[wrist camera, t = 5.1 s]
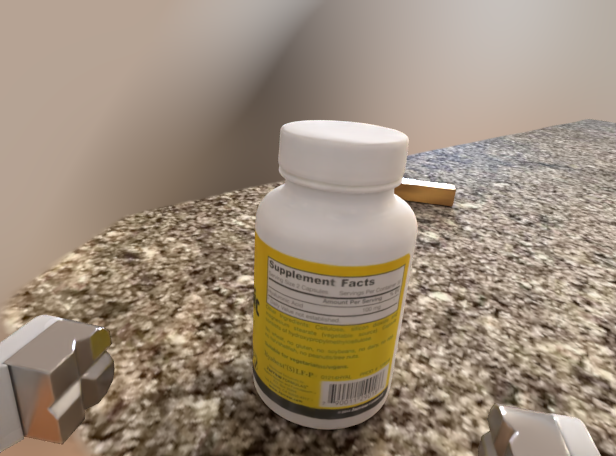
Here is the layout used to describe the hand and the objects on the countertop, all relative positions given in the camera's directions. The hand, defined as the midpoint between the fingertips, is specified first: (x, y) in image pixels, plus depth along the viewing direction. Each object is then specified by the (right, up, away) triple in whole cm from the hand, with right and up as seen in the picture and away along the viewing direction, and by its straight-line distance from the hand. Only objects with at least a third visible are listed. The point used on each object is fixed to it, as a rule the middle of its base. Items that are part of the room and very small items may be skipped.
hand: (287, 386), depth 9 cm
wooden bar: (+9, +6, +31) cm, 33 cm away
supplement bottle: (+1, -3, +8) cm, 9 cm away
